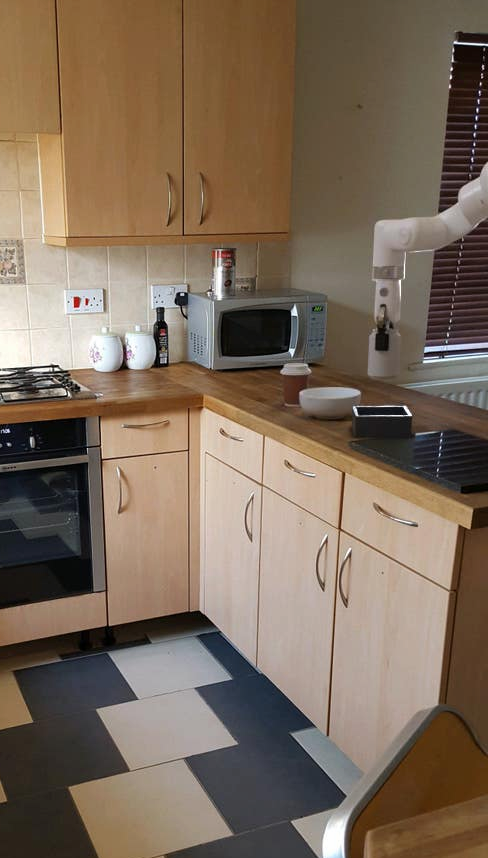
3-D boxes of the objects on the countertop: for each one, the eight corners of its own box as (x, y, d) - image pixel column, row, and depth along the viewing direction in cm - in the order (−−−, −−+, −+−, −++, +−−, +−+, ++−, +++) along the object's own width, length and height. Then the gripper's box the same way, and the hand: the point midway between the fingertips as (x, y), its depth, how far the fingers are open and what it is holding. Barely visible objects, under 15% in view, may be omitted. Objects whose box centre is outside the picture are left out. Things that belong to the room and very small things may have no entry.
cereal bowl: (287, 415, 249) (288, 390, 246) (338, 409, 254) (339, 385, 252) (319, 425, 234) (320, 399, 231) (372, 419, 239) (373, 393, 237)
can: (361, 378, 219) (363, 329, 215) (378, 374, 223) (381, 326, 220) (387, 381, 213) (389, 330, 210) (404, 377, 218) (407, 328, 214)
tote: (404, 427, 228) (405, 405, 227) (410, 438, 216) (412, 415, 214) (351, 427, 230) (352, 406, 228) (354, 438, 218) (355, 416, 216)
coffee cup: (286, 401, 269) (287, 362, 265) (314, 403, 265) (316, 363, 261) (275, 406, 262) (275, 366, 258) (303, 408, 257) (304, 367, 253)
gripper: (398, 275, 201) (394, 353, 207) (409, 272, 216) (405, 344, 222) (365, 276, 204) (362, 352, 210) (378, 272, 219) (375, 344, 225)
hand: (384, 348), depth 216 cm, fingers closed on can, 7 cm apart
